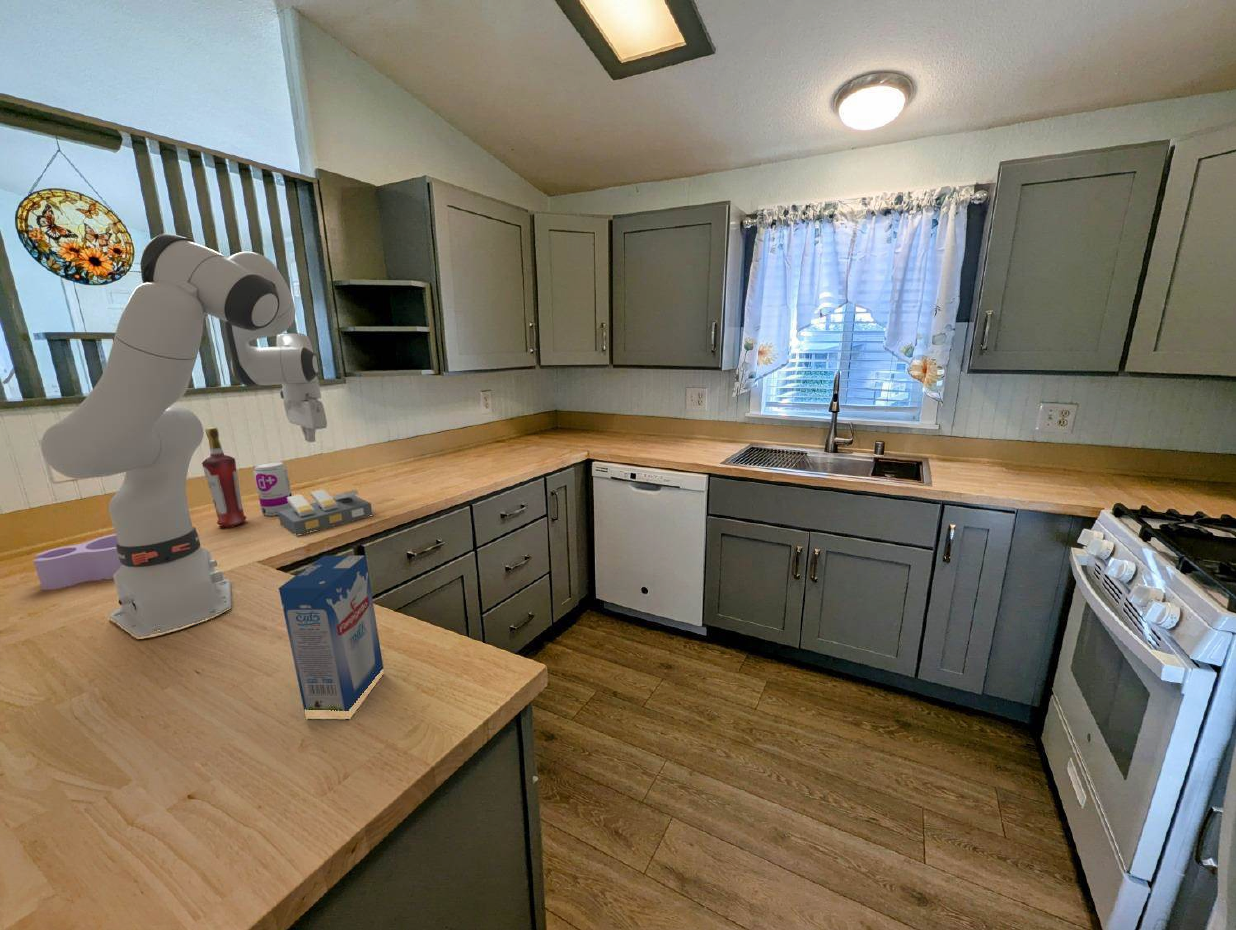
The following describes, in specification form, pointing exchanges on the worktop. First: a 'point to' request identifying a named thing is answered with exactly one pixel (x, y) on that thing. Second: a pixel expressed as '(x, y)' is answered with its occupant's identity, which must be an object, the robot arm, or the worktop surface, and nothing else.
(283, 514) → the switch housing
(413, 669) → the worktop surface
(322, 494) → the rocker
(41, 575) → the lavender double cup holder
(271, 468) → the supplement can
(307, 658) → the milk carton
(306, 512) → the rocker
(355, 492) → the rocker
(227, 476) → the liquor
